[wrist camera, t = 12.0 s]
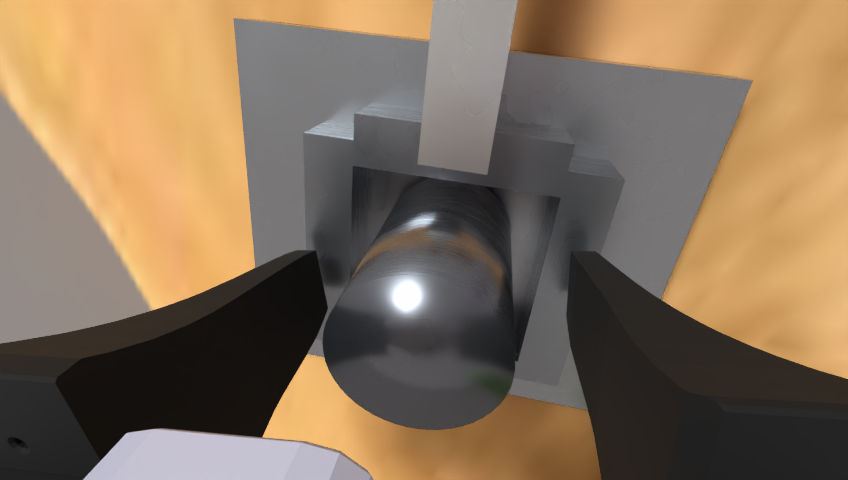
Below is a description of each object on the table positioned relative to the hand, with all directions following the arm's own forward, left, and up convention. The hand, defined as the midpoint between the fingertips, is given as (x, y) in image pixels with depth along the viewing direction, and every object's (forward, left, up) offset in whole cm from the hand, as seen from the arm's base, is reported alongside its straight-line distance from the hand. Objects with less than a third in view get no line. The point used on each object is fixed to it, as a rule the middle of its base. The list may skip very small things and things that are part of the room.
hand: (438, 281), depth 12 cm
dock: (0, 0, -3) cm, 3 cm away
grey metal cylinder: (0, 0, -2) cm, 2 cm away
